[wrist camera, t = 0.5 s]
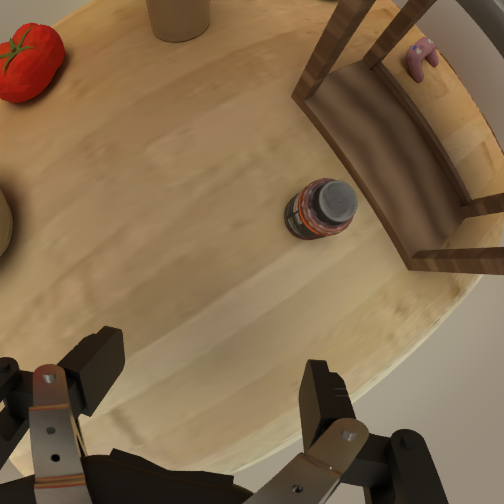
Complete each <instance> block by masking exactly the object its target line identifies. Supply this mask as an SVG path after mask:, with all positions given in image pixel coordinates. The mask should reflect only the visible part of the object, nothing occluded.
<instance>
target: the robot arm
mask: <svg viewBox="0 0 504 504" xmlns="http://www.w3.org/2000/svg"><path fill="white" fill-rule="evenodd" d="M146 3H147V8H148V12H149V17H150V21H151V25H152V29H153V33H154V34H155V35H156V36H157V37H158V38H160V39H162V40H165V41H169V42H181V41H186V40H190V39H193V38H195V37H197V36H199V35H200V34H202V33H203V32H204V31H205V30H206V28H207V27H208V25H209V6H210V0H146ZM124 364H125V354H124V343H123V333H122V330H121V329H118V328H114V327H109V326H104V327H103V328H102V329H101V330H100V331H99V332H98V333H97V334H94V333H93V334H91V335H89V336H87V337H85V338H83V339H82V340H81V341H80V342H79V343H78V345H76V346H75V347H74V348H73V350H71V351H70V352H69V353H68V354H67V355H66V356H65V357H64V358H63V359H62V360H61V361H60V362H59V363H58V364H57V365H54V364H46V365H42V366H40V367H38V368H37V369H36V370H35V371H34V372H29V371H23V370H20V369H19V365H18V363H17V361H16V360H15V359H13V358H10V357H3V358H0V403H1V401H2V400H3V402H4V405H5V407H4V408H3V410H2V411H1V412H0V470H1V468H2V467H3V465H4V464H5V462H6V461H7V459H8V458H9V456H10V455H11V453H12V452H13V450H14V449H15V447H16V446H17V445H18V443H19V442H20V440H21V439H22V437H23V436H24V435H25V433H26V432H27V430H28V429H29V428H30V439H31V449H32V458H33V466H34V472H35V474H34V475H30V476H27V477H24V478H21V479H17V480H14V481H10V482H7V483H3V484H0V504H325V503H326V502H327V500H328V499H329V498H330V497H331V496H332V494H333V493H334V492H335V490H336V489H337V488H338V487H339V485H340V484H341V483H346V484H351V485H357V486H362V487H363V490H364V496H365V502H366V504H449V503H448V500H447V497H446V495H445V492H444V489H443V486H442V484H441V481H440V478H439V476H438V473H437V470H436V468H435V465H434V463H433V460H432V457H431V455H430V452H429V450H428V448H427V445H426V443H425V440H424V438H423V437H422V436H421V435H420V434H419V433H417V432H415V431H413V430H409V429H400V430H397V431H395V432H394V433H393V434H392V436H391V438H389V437H384V436H379V435H374V434H371V433H369V431H368V428H367V427H366V426H365V425H364V424H363V423H362V422H360V421H358V420H356V417H355V414H354V411H353V407H352V404H351V401H350V398H349V397H348V396H349V395H348V392H347V390H346V386H345V383H344V380H343V379H342V378H341V377H340V376H339V375H338V374H337V373H334V372H329V369H328V365H327V362H326V361H325V360H311V359H308V361H307V363H306V367H305V371H304V375H303V378H302V382H301V386H300V390H299V408H300V417H301V427H302V436H303V446H304V453H302V452H301V453H299V454H298V455H297V456H296V457H295V458H294V459H293V460H292V461H290V463H288V464H287V465H286V466H285V467H284V468H283V469H282V470H281V471H280V472H279V473H278V474H277V475H275V476H274V477H273V478H272V479H271V480H270V481H269V482H268V483H266V484H265V485H264V486H263V487H262V488H261V489H260V490H258V491H257V492H256V493H255V494H254V493H253V492H251V491H249V490H247V489H246V488H243V487H241V486H239V485H236V484H233V479H234V476H232V475H225V474H218V473H211V472H205V471H170V470H167V469H164V468H162V467H160V466H158V465H156V464H154V463H152V462H150V461H148V460H146V459H144V458H142V457H140V456H137V455H133V454H130V453H127V452H124V451H121V450H118V449H115V448H113V450H112V451H111V453H110V455H91V456H88V454H87V450H86V447H85V443H84V439H83V435H82V431H81V427H80V423H79V419H78V417H79V415H80V414H84V415H87V416H89V417H91V416H92V414H93V413H94V411H95V410H96V408H97V407H98V405H99V404H100V402H101V401H102V399H103V398H104V397H105V395H106V394H107V392H108V391H109V389H110V388H111V386H112V385H113V384H114V382H115V381H116V379H117V378H118V376H119V375H120V374H121V372H122V370H123V368H124Z"/></svg>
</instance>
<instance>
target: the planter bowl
mask: <svg viewBox="0 0 504 504" xmlns="http://www.w3.org/2000/svg"><path fill="white" fill-rule="evenodd" d="M12 230H13V217H12V212H11V209H10V207H9V205H8V203H7V202H6V200H5V197H4V195H3V193H2V191H1V189H0V256H1V255H2V254H3V253H4V252H5V251H6V249H7V247H8V245H9V243H10V240H11V236H12Z"/></svg>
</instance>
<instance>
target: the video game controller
mask: <svg viewBox="0 0 504 504" xmlns="http://www.w3.org/2000/svg"><path fill="white" fill-rule="evenodd" d="M425 56H426V57H427V59H428V61H429V62H430V64H431V65H432V66H437V65H438V63H439V60H438V56H437V53H436V48H435V44H434V42H432V41H431V40H430V39H428V38H426V37H423V38H421V39H420V40H419V41H417V43H416V44H415V45H414V46H411V47H410V48H409V49H408V52H407V55H406V60H407V62H408V66H409V70H410V72H411V74H412V76H413V78H414V79H415V80H416V81H417V82H422V81H423V77H424V75H423V71H422V66H421V61H423V59H424V57H425Z"/></svg>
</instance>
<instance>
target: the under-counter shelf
mask: <svg viewBox="0 0 504 504" xmlns="http://www.w3.org/2000/svg"><path fill="white" fill-rule="evenodd" d="M375 1H376V0H340V1H339V3H338V5H337V7H336V9H335V11H334V12H333V14H332V16H331V18H330V20H329V22H328V24H327V26H326V28H325V30H324V32H323V34H322V36H321V38H320V39H319V41H318V43H317V45H316V47H315V49H314V51H313V53H312V55H311V57H310V59H309V61H308V63H307V65H306V67H305V69H304V71H303V73H302V75H301V77H300V79H299V81H298V83H297V85H296V87H295V90H294V92H293V94H292V96H291V97H292V98H293V99H294V101H295V102H296V103H297V104H298V105H299V107H300V108H301V109H302V110H303V112H304V113H305V114H306V115H307V117H308V118H309V119H310V120H311V122H312V123H313V124H314V126H315V127H316V128H317V129H318V131H319V132H320V133H321V135H322V136H323V137H324V139H325V140H326V141H327V143H328V144H329V145H330V147H331V148H332V149H333V151H334V152H335V154H336V155H337V156H338V158H339V159H340V161H341V162H342V163H343V165H344V166H345V168H346V169H347V171H348V172H349V173H350V175H351V176H352V178H353V179H354V181H355V182H356V184H357V185H358V187H359V188H360V190H361V191H362V193H363V194H364V196H365V198H366V199H367V201H368V202H369V204H370V205H371V207H372V208H373V210H374V212H375V213H376V215H377V217H378V218H379V220H380V221H381V223H382V225H383V226H384V228H385V230H386V231H387V233H388V235H389V237H390V238H391V240H392V242H393V243H394V245H395V247H396V249H397V251H398V252H399V254H400V256H401V258H402V260H403V261H404V263H405V265H406V267H407V269H408V270H414V271H433V272H452V273H471V274H492V275H504V247H492V248H470V249H447V250H437V249H438V248H439V247H440V246H441V245H442V244H443V242H444V241H445V240H446V239H447V238H448V237H449V236H450V235H451V234H452V233H453V232H454V230H455V229H456V228H457V227H458V226H459V225H460V224H461V223H462V221H463V220H464V219H465V218H469V217H475V216H481V215H487V214H493V213H499V212H504V193H500V194H496V195H491V196H487V197H483V198H478V199H474V200H472V199H471V197H470V195H469V193H468V191H467V189H466V187H465V185H464V183H463V181H462V179H461V178H460V176H459V174H458V172H457V170H456V168H455V167H454V165H453V163H452V161H451V159H450V158H449V156H448V154H447V153H446V151H445V149H444V148H443V146H442V144H441V143H440V141H439V139H438V138H437V136H436V135H435V133H434V132H433V130H432V129H431V127H430V126H429V124H428V123H427V121H426V120H425V118H424V117H423V115H422V114H421V112H420V111H419V109H418V108H417V107H416V105H415V104H414V103H413V101H412V100H411V98H410V97H409V96H408V94H407V93H406V92H405V91H404V89H403V88H402V87H401V85H400V84H399V83H398V82H397V80H396V79H395V78H394V77H393V75H392V74H391V73H390V72H389V71H388V69H387V68H386V67H385V66H384V65H383V63H382V62H381V61H382V60H383V59H384V58H385V57H386V56H387V54H388V53H389V52H390V51H391V50H392V49H393V48H394V47H395V45H396V44H397V43H398V42H399V41H400V40H401V39H402V38H403V37H404V35H405V34H406V33H407V32H408V31H409V30H410V29H411V28H412V27H413V26H414V24H415V23H416V22H417V21H418V20H419V19H420V18H421V17H422V16H423V15H424V14H425V12H426V11H427V10H428V9H429V8H430V7H431V6H432V5H433V4H434V3H435V2H436V1H437V0H409V1H408V2H407V3H406V5H405V6H404V7H403V8H402V9H401V11H400V12H399V13H398V14H397V16H396V17H395V18H394V19H393V21H392V22H391V23H390V24H389V26H388V27H387V28H386V29H385V31H384V32H383V33H382V34H381V36H380V37H379V38H378V39H377V41H376V42H375V43H374V45H373V46H372V47H371V48H370V50H369V51H368V52H367V53H366V55H365V56H364V57H363V59H362V60H361V61H358V62H356V63H353V64H351V65H348V66H346V67H343V68H341V69H339V70H336V71H334V72H332V73H329V74H328V72H329V71H330V69H331V68H332V66H333V65H334V63H335V61H336V60H337V58H338V57H339V55H340V54H341V52H342V51H343V49H344V48H345V46H346V44H347V43H348V41H349V40H350V38H351V37H352V35H353V34H354V32H355V31H356V29H357V28H358V26H359V25H360V23H361V22H362V20H363V19H364V17H365V16H366V14H367V13H368V11H369V10H370V8H371V7H372V5H373V4H374V2H375ZM456 1H457V2H458V3H459V4H460V5H461V6H462V7H463V8H464V9H465V11H466V12H467V13H468V14H469V15H470V16H471V17H472V19H473V20H474V21H475V22H476V23H477V24H478V25H479V26H480V28H481V29H482V30H483V32H484V33H485V34H486V35H487V37H488V38H489V39H490V40H491V42H492V43H493V45H494V46H495V47H496V48H497V50H498V51H499V53H500V54H501V55H502V57H503V58H504V0H456Z"/></svg>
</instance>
